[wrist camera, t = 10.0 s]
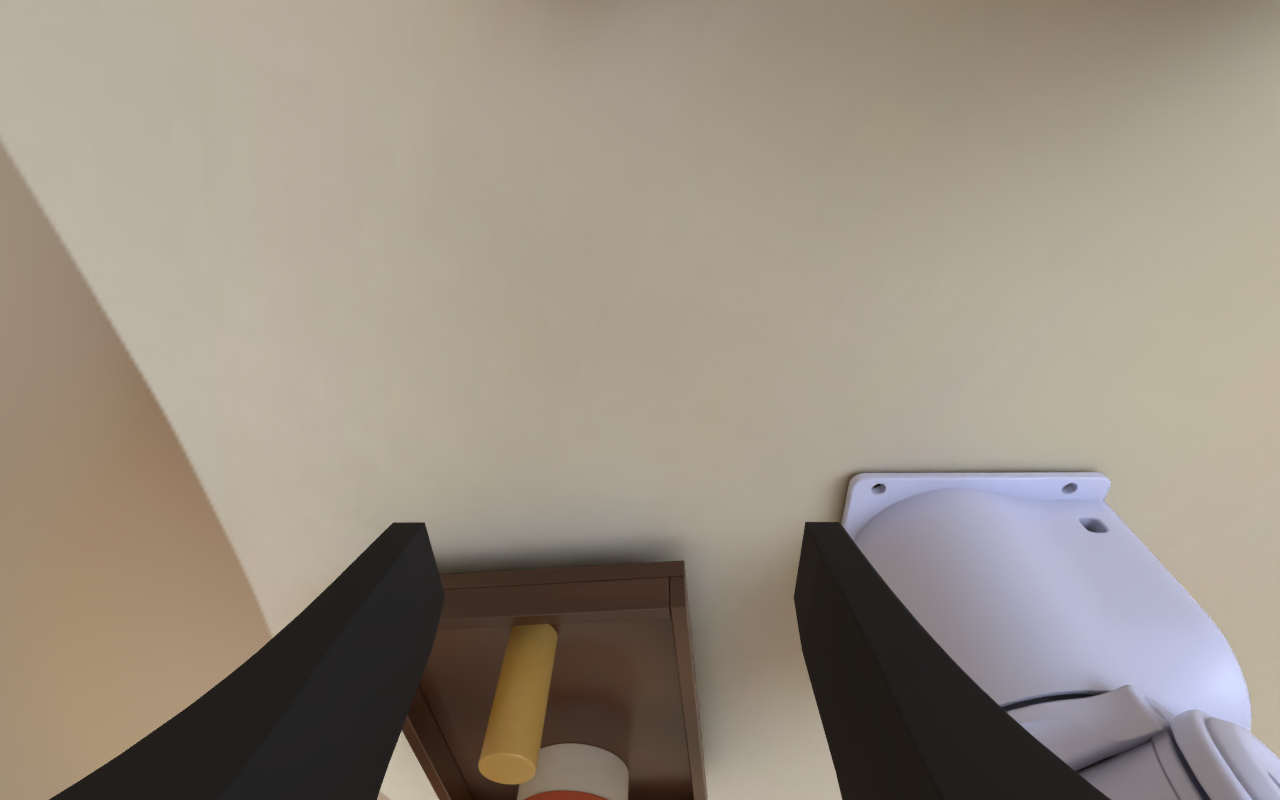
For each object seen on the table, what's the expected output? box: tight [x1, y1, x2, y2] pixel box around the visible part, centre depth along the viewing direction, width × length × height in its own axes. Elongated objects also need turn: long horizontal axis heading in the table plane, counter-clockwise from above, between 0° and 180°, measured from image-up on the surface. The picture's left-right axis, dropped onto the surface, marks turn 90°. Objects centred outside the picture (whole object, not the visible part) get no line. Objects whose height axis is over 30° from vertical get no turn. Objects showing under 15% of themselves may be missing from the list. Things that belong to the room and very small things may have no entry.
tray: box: [402, 561, 708, 800], centre depth 27 cm, size 18×13×6 cm
